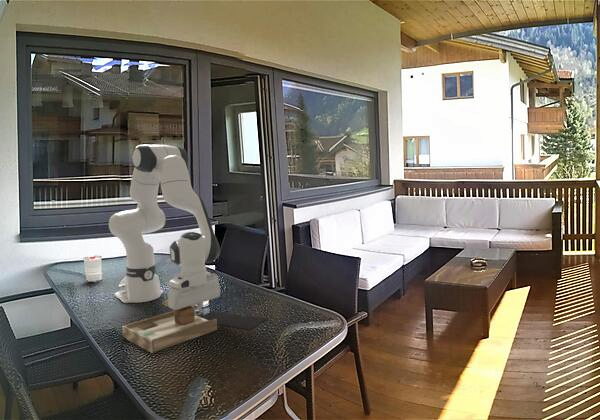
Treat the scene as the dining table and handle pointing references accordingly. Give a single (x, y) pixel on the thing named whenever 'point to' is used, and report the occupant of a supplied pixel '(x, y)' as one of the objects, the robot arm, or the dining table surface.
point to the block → (184, 315)
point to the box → (165, 331)
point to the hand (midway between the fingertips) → (196, 315)
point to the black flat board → (234, 320)
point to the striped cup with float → (93, 268)
